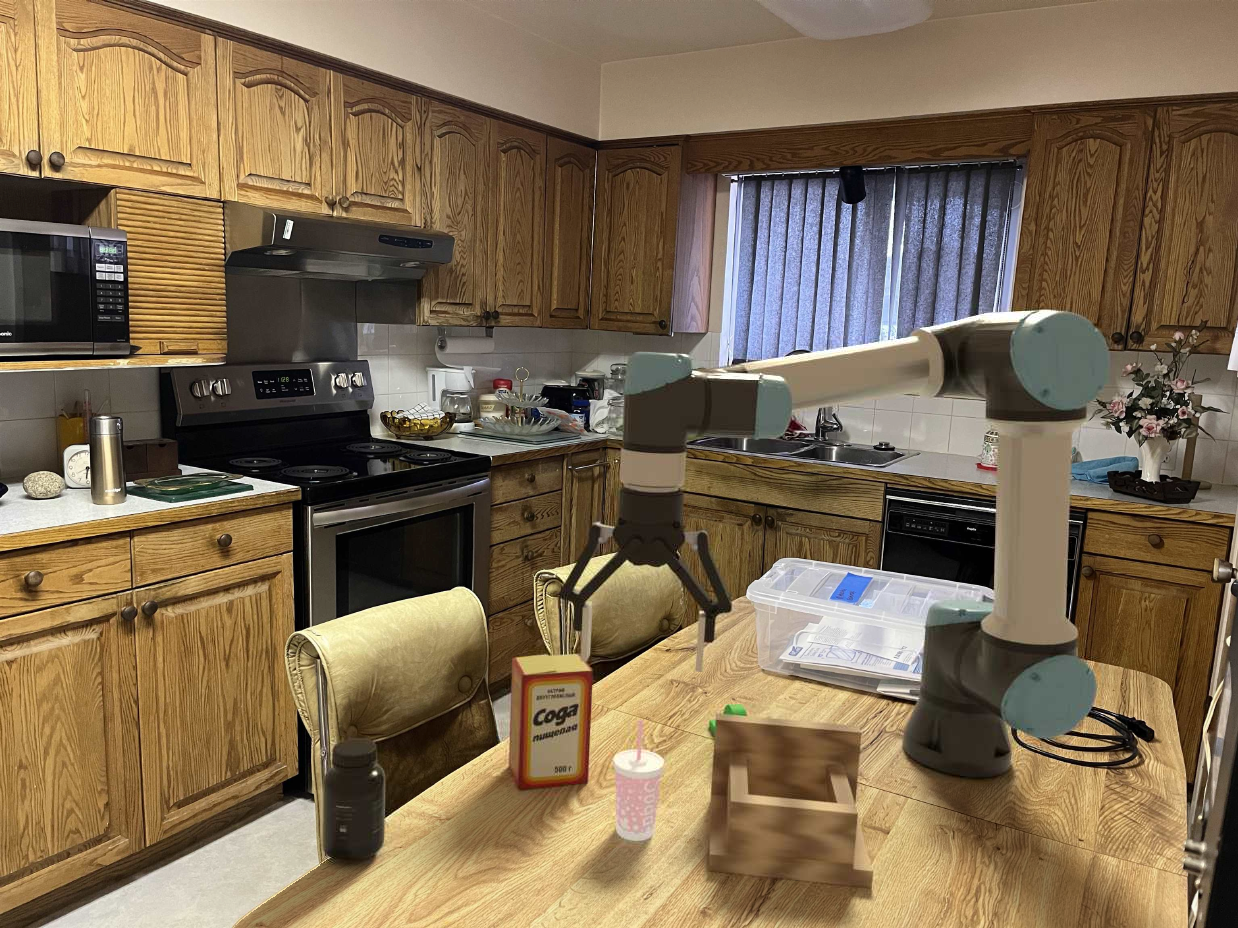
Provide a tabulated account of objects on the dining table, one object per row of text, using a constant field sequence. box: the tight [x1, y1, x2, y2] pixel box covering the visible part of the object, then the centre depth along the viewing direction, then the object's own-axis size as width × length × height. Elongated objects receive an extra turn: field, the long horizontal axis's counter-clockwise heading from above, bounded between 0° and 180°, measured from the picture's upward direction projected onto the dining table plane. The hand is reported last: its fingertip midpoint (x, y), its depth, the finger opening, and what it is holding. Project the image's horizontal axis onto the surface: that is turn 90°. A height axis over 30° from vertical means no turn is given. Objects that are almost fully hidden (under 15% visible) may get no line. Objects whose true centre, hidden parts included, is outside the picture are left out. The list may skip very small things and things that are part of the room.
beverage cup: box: [612, 719, 665, 842], centre depth 111 cm, size 6×6×14 cm
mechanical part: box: [708, 704, 748, 737], centre depth 136 cm, size 12×6×8 cm, turn 10°
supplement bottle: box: [321, 737, 386, 863], centre depth 104 cm, size 7×7×12 cm
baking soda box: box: [508, 653, 594, 791], centre depth 124 cm, size 10×6×16 cm
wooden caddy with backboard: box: [708, 712, 874, 889], centre depth 110 cm, size 18×16×12 cm
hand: (641, 662), depth 109 cm, fingers open, 13 cm apart
